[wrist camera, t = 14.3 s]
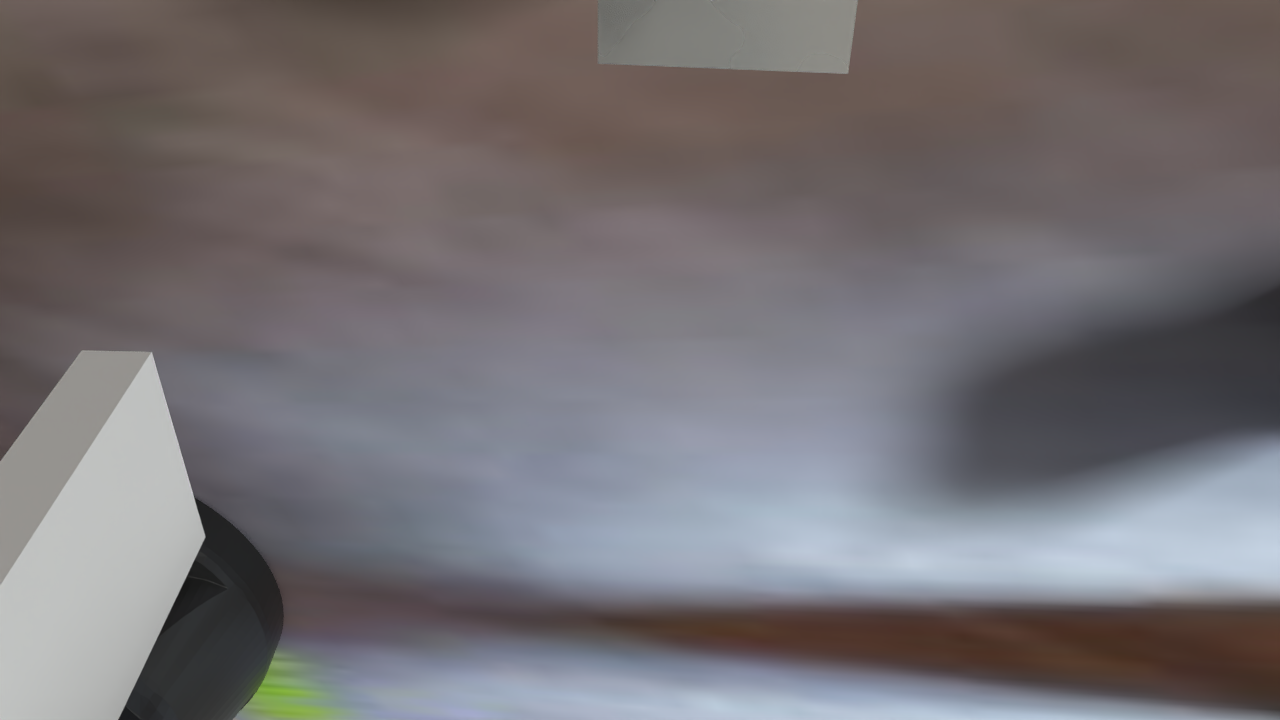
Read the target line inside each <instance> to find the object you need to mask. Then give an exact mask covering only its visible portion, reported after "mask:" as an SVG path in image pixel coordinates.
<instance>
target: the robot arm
mask: <svg viewBox="0 0 1280 720" xmlns="http://www.w3.org/2000/svg"><path fill="white" fill-rule="evenodd" d="M283 617H284V614H283V604H282V598H281V595H280V591H279V588H278V585H277V583H276V580H275V578H274V576H273V574H272V572H271V570H270V569H269V567H268V565H267V564H266V562H265V561H264V559H263V558H262V556H261V555H260V553H259V552H258V551H257V550H256V549H255V547H254V546H253V545H252V544H251V543H250V542H249V541H248V539H247V538H246V537H245V536H244V535H243V534H242V533H241V532H240V531H238V530H237V529H236V528H235V527H234V526H233V525H232V524H231V523H229V522H228V521H227V520H226V519H225V518H223V517H222V516H220V515H219V514H218V513H216V512H215V511H214V510H212V509H211V508H209V507H208V506H206V505H205V504H203V503H201V502H200V501H198V500H196V499H195V498H194V496H193V492H192V489H191V485H190V482H189V479H188V475H187V472H186V468H185V465H184V461H183V458H182V455H181V451H180V448H179V444H178V441H177V437H176V434H175V431H174V427H173V424H172V420H171V417H170V413H169V410H168V407H167V403H166V400H165V396H164V393H163V389H162V386H161V382H160V379H159V376H158V372H157V369H156V365H155V362H154V358H153V355H152V352H130V351H84V350H82V351H81V352H80V354H79V355H78V356H77V358H76V359H75V361H74V362H73V363H72V365H71V366H70V367H69V369H68V370H67V371H66V373H65V374H64V375H63V377H62V378H61V380H60V381H59V382H58V384H57V385H56V386H55V388H54V389H53V390H52V392H51V393H50V395H49V396H48V397H47V399H46V400H45V401H44V403H43V404H42V405H41V407H40V408H39V410H38V411H37V412H36V414H35V415H34V416H33V418H32V419H31V420H30V422H29V423H28V425H27V426H26V427H25V429H24V430H23V431H22V433H21V434H20V435H19V437H18V438H17V440H16V441H15V442H14V444H13V445H12V446H11V448H10V449H9V450H8V452H7V453H6V455H5V456H4V457H3V459H2V460H1V461H0V720H233V718H234V717H235V716H236V715H237V714H238V712H239V711H240V710H241V709H242V708H243V707H244V706H245V705H246V704H247V703H248V702H249V700H250V699H251V698H252V697H253V696H254V694H255V693H256V692H257V690H258V688H259V687H260V685H261V683H262V682H263V680H264V678H265V676H266V673H267V671H268V669H269V666H270V663H271V661H272V658H273V655H274V653H275V650H276V648H277V645H278V642H279V640H280V636H281V633H282V628H283Z"/></svg>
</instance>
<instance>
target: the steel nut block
mask: <svg viewBox="0 0 1280 720" xmlns="http://www.w3.org/2000/svg"><path fill="white" fill-rule="evenodd" d="M857 2H858V0H598V64H620V65H645V66H670V67H694V68H719V69H743V70H768V71H792V72H817V73H841V74H848V69H849V62H850V54H851V47H852V39H853V32H854V25H855V17H856V10H857Z"/></svg>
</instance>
